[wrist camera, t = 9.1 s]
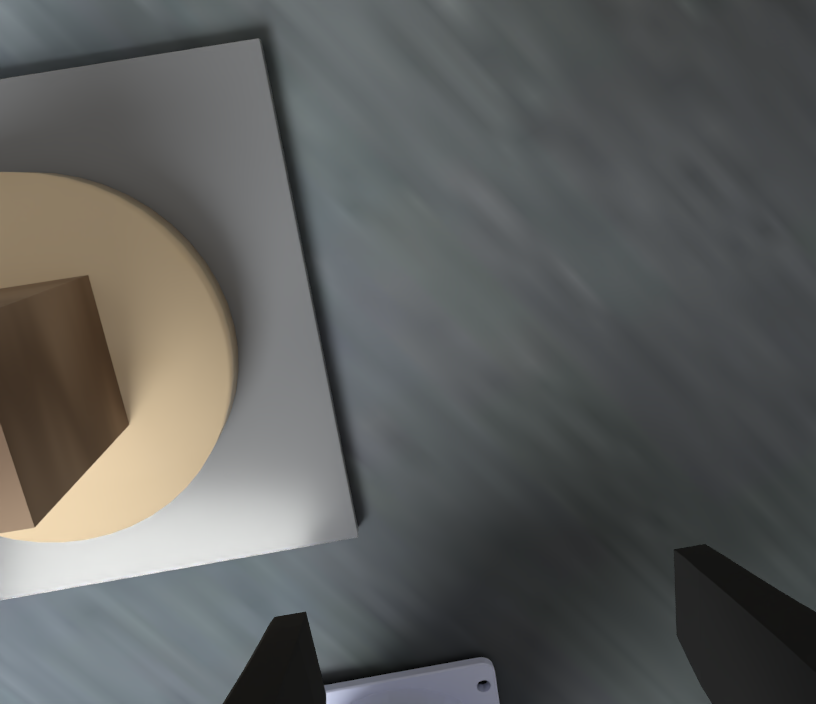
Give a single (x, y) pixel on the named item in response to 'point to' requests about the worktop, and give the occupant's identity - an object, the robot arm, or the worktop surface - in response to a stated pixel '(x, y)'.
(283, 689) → the robot arm
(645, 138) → the worktop surface
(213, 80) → the base
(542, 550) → the worktop surface
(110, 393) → the block
